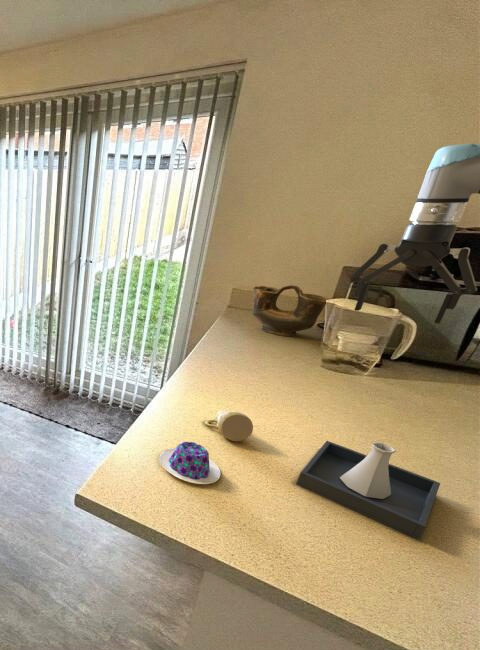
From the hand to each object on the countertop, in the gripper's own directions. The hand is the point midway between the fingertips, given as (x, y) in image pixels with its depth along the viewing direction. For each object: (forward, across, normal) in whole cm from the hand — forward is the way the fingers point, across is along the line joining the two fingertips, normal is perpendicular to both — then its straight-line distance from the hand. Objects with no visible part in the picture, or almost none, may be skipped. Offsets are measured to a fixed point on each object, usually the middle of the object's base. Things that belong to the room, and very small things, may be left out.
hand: (395, 315), depth 94 cm
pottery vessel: (+27, -37, +57) cm, 73 cm away
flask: (+28, +9, -34) cm, 45 cm away
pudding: (+28, -16, -56) cm, 64 cm away
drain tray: (+29, +9, -34) cm, 45 cm away
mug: (+28, -17, -35) cm, 48 cm away
